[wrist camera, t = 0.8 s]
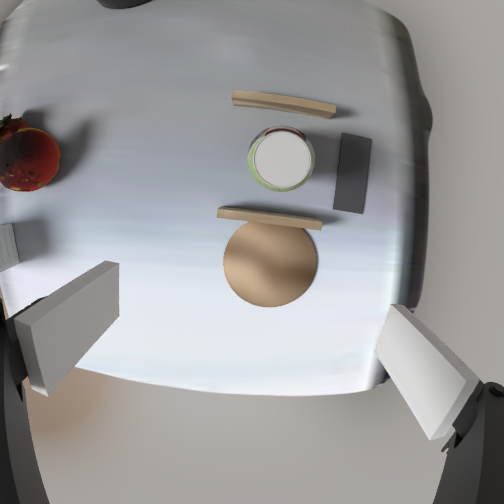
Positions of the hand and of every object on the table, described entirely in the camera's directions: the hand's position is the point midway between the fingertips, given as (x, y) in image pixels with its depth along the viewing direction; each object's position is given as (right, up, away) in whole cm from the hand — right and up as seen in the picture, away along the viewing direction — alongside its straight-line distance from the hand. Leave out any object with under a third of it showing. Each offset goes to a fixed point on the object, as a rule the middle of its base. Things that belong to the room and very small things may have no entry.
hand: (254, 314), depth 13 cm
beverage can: (+3, +14, +22) cm, 26 cm away
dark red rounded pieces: (-38, +25, +21) cm, 50 cm away
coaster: (+2, +1, +25) cm, 25 cm away
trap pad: (+13, +13, +22) cm, 28 cm away
